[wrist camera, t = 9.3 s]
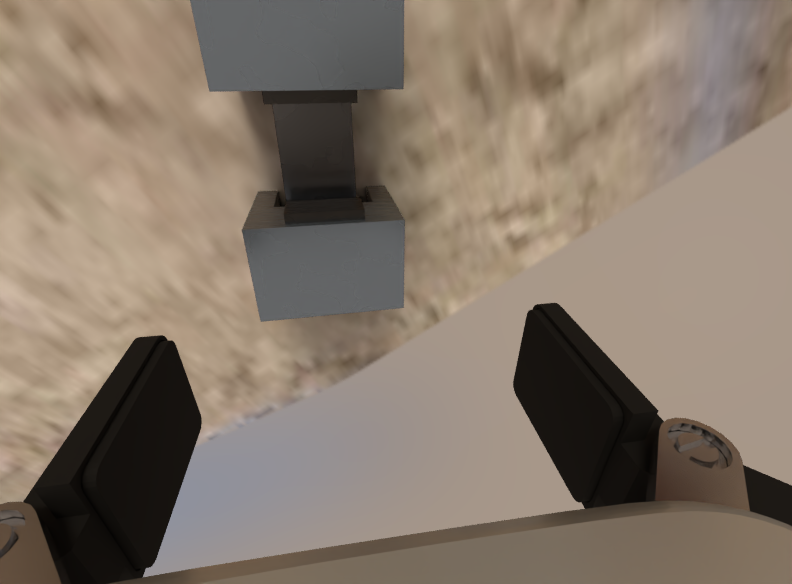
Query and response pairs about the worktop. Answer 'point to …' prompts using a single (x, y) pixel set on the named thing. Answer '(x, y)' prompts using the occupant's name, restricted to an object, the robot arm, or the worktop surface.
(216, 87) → the rail
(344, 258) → the grey block
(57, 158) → the worktop surface
